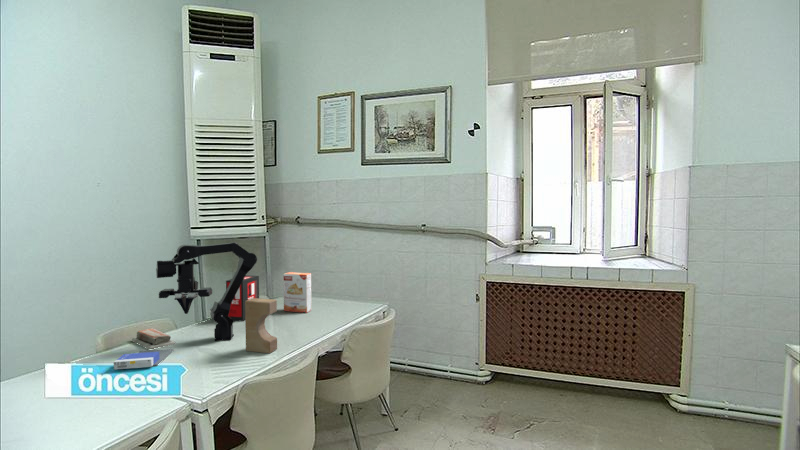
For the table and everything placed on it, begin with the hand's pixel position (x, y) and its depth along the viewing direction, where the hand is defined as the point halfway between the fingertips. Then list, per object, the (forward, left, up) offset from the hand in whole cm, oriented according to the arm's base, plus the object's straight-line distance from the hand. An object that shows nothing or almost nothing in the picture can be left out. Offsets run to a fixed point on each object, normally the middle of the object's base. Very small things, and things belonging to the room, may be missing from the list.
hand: (186, 313), depth 164 cm
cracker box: (-41, -48, -13) cm, 65 cm away
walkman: (+4, +20, -11) cm, 23 cm away
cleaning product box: (-14, -42, -13) cm, 46 cm away
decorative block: (-31, +12, -13) cm, 36 cm away
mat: (+9, +14, -13) cm, 21 cm away
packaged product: (+15, -6, -14) cm, 21 cm away
